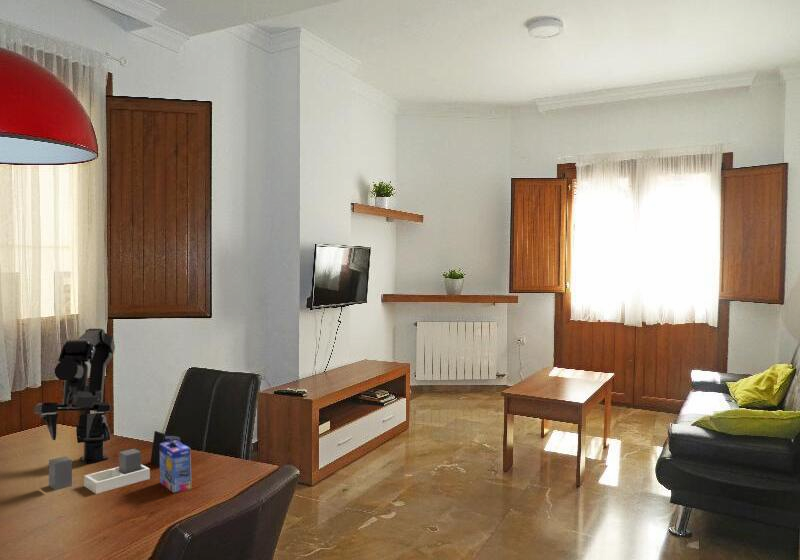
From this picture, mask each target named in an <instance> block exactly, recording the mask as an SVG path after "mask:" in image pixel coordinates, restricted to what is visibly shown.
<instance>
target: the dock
mask: <svg viewBox="0 0 800 560" xmlns="http://www.w3.org/2000/svg"><path fill="white" fill-rule="evenodd" d="M150 470H151V468H149V467H148V466H146V465H144V464H142V463H141V470H139V471H135V472H131V473H128V474H122V473H121V472H119V466H116V467H113V468H109V469H105V470H101V471H96V472H93V473H88V474H86V475H83V486H84V487H85V488H87V489H88V490H89V491H91V492H92V493H94V494H96V495H97V494H101V493H104V492H107V491H111V490H114V489H118V488H122V487H127V486H129V485H133V484H136V483H140V482H144V481H147V480H150V479H151V471H150Z"/></svg>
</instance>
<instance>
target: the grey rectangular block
mask: <svg viewBox="0 0 800 560" xmlns="http://www.w3.org/2000/svg"><path fill="white" fill-rule="evenodd" d="M72 486H73V459H72V458H69V457H68V456H67V455H64V456H59V457H56V458H52V459H48V487H50V488H51V489H53V490H54V491H58V490H61V489H62V490H63V489H65V488H69V487H72Z"/></svg>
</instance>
